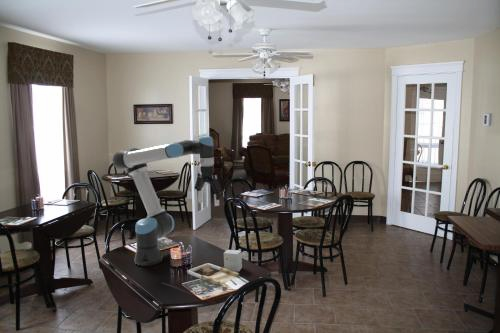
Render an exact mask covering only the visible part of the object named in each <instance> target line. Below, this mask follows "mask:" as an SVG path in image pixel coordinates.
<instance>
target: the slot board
mask: <svg viewBox="0 0 500 333" xmlns="http://www.w3.org/2000/svg"><path fill="white" fill-rule="evenodd" d="M238 277H240V273H239V272H238V271H231V270H228V269H225V268H224V267H221V268H220V270H219V271H218V272H214V273H213V274H210V275H205V274H202V276H201V280H203V281H206V282H208V283H211V284H214V285H216V286H220V285H222V284H224V283H227V282H229V281H232V280H234V279H236V278H238Z"/></svg>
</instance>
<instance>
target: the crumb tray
mask: <svg viewBox="0 0 500 333" xmlns="http://www.w3.org/2000/svg"><path fill="white" fill-rule="evenodd" d="M205 265H206V266H209V267H210V269H213V270H217V271H220V268H222V267H221V266H218V265H215V264H213V263H210V262H207V263H204V264H202V265H199V266H196V267H193V268H190V269H188V270H186V273H187V274H188V275H191V276H193V277H196V278H198V279H201V276H202V275H203V274H202V275H201V274H200V273H197V271H199V267H202V266H205ZM201 280H202V279H201Z"/></svg>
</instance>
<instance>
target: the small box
mask: <svg viewBox="0 0 500 333" xmlns="http://www.w3.org/2000/svg"><path fill="white" fill-rule="evenodd" d="M242 262H243V260H242V250H239V249H238V250H237V249H226V250H225V251H224V252H223V265H224V266H223V268H225V269H228V270H231V271H234V272H237V273H239V272H240V271H241V270H242V268H243V263H242Z"/></svg>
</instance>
